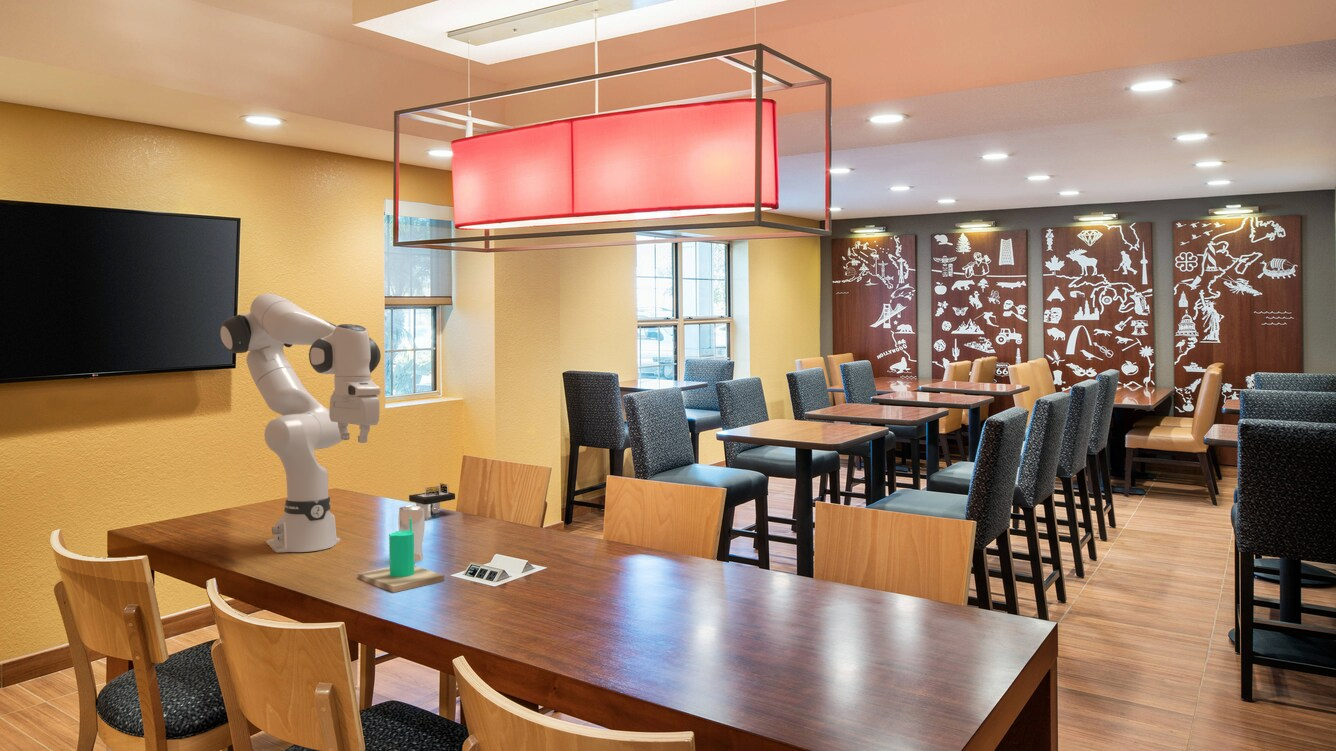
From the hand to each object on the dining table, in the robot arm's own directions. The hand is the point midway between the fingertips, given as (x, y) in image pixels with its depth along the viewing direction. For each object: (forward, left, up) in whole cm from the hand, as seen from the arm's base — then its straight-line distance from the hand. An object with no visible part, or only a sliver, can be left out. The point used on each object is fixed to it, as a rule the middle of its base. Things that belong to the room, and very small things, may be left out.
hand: (353, 441), depth 224 cm
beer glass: (-3, +18, -35) cm, 40 cm away
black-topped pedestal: (-44, +50, -36) cm, 76 cm away
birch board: (+12, +6, -35) cm, 37 cm away
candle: (+12, +6, -34) cm, 36 cm away
